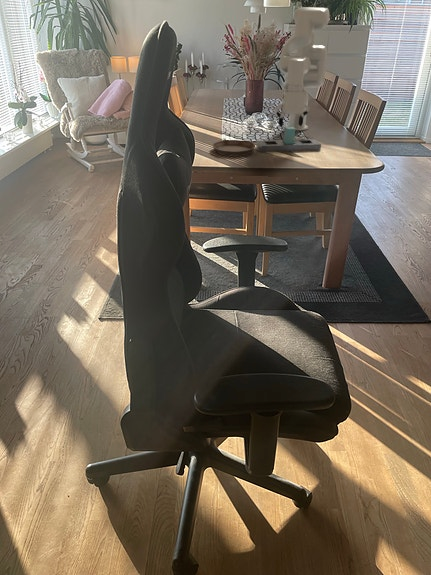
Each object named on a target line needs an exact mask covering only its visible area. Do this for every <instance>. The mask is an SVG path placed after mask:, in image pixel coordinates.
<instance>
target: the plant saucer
mask: <svg viewBox="0 0 431 575" xmlns="http://www.w3.org/2000/svg"><path fill="white" fill-rule="evenodd" d="M212 148H213V149H214V151H215V152H216V153H217V154H219V155H222V156H225V157H226V156H229V157H242V156H243V157H244V156H246V155H249V154H250V153H252V152H253V151H254V150H255V148H256V144H254V142H251V141H248V140H247V141H246V140H240V139H230V140H229V139H227V140H225V139H224V140H219V141H216V142H214V143H213V144H212Z"/></svg>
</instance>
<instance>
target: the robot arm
mask: <svg viewBox="0 0 431 575" xmlns="http://www.w3.org/2000/svg"><path fill="white" fill-rule="evenodd" d="M293 19H294V24H295V27H294V32H293V36H292V37H291V38H290V39H288V40H287V42H285V43H284V46H283V47H282V49H281V52H280V59H279V63H278V64H279V65H278V66H279V70H280V72H282V73H283V74H287V75H286V83H285V84H284V85H283V86H282V89H283V90H284V91H283V95H282V99H281V103H280V104H279V105H277V106H275V107H274V108H273V110H274V112H275V114H276V115H277V117H278V125H279V127H281V128H283V124H284V118H283V117H285V115H289V116H288V117H289V118H288V123H287V124H285V127H294V128H295V131H306V130H308V129H309V128H308V127H309V126H308V125H306V122H307V114H308V113H309V111H310V109H311V107H310V106H308V104H309V93H308V91H307V90H306V88H314V89H315V88H318V89H319V88H321V87H322V86H323V85H324V83H325V77H326V76H325V74H326V69H327V68H326V67H327V60H328V58H327V57H328V50H327V46H324V45H319V44H318V45H316V44H314V43H315V32H314V30H324V29H326V28H327V26H328V24H329V21H330V10H329V8H328V7H312V6H311V7H309V6H308V7H307V6H304V7H303V6H302V7H301V6H300V7H298V8H296V9H295V10H294V13H293ZM295 51H296V55H293V54H292V55H289V54H290V53H292V52H295ZM311 66H316V68H315V67H311ZM279 110H280V112H279Z"/></svg>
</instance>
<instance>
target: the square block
mask: <svg viewBox="0 0 431 575" xmlns="http://www.w3.org/2000/svg"><path fill="white" fill-rule="evenodd" d="M294 139H296V130H295V128H294V127H286V126H285V127H284V136H283V140H284V144H294Z"/></svg>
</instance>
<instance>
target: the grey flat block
mask: <svg viewBox="0 0 431 575" xmlns="http://www.w3.org/2000/svg"><path fill="white" fill-rule="evenodd" d="M255 148H257V149H258V150H259V152H260V153H275V152H276V153H277V152H278V153H280V152H281V153H283V152H284V153H285V152H313V151H314V152H316V151H321V148H322V143H320V142H319V141H318V140H316V138H306V139H304V138H303V139H302V138H301V139H300V138H298V139H296V138H295V139H294V144H284V139H270V140H269V139H267V140H266V139H265V140H263V139H262V140H256V144H255Z"/></svg>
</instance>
